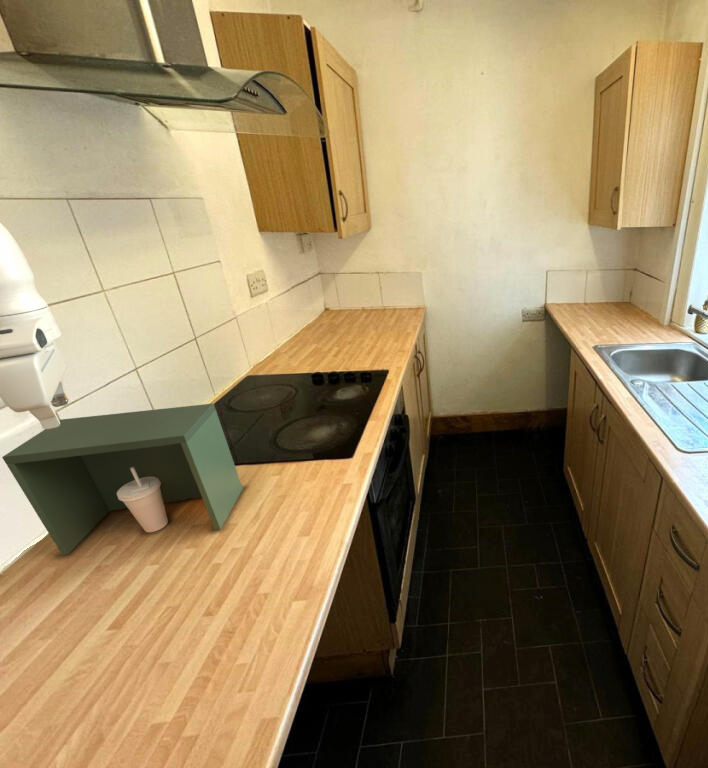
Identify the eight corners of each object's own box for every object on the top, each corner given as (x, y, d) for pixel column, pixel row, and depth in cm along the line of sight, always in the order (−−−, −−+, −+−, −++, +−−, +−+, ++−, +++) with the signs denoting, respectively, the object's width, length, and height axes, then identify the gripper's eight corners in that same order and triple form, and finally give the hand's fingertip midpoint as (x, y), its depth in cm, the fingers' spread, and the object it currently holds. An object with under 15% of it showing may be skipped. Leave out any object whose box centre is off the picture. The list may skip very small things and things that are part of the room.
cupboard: (62, 555, 76) (1, 457, 67) (106, 508, 88) (60, 419, 79) (220, 529, 82) (184, 435, 73) (242, 488, 93) (213, 403, 84)
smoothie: (155, 539, 79) (126, 479, 74) (126, 535, 80) (96, 476, 75) (184, 516, 85) (160, 459, 80) (157, 512, 86) (131, 456, 80)
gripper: (-2, 320, 66) (40, 398, 71) (-41, 353, 51) (15, 448, 57) (55, 313, 69) (90, 388, 75) (32, 343, 55) (78, 433, 60)
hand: (57, 415), depth 66 cm, fingers open, 8 cm apart
